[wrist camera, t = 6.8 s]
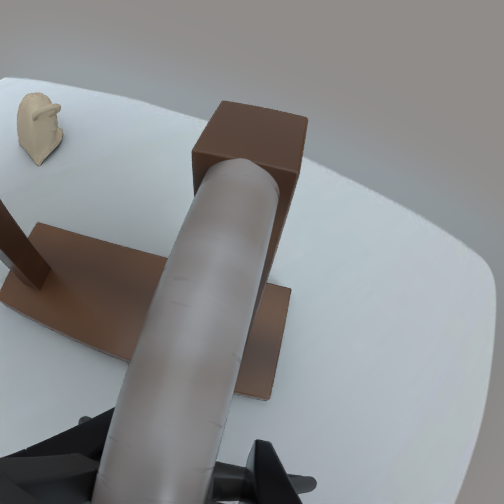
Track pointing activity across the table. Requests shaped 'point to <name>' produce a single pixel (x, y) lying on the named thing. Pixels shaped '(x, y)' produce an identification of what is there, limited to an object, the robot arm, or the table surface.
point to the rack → (176, 306)
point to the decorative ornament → (38, 126)
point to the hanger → (84, 477)
